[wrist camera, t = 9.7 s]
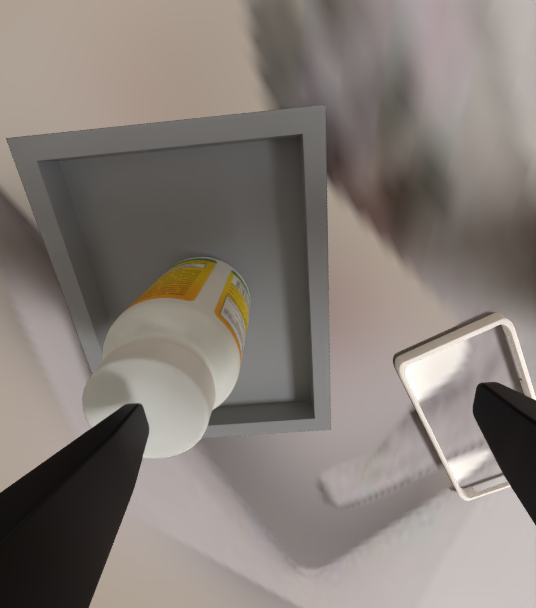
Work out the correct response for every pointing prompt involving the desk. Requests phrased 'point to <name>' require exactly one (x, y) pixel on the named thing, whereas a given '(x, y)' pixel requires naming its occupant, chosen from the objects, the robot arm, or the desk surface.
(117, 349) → the supplement bottle
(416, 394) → the phone case
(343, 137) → the desk surface
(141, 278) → the tray
